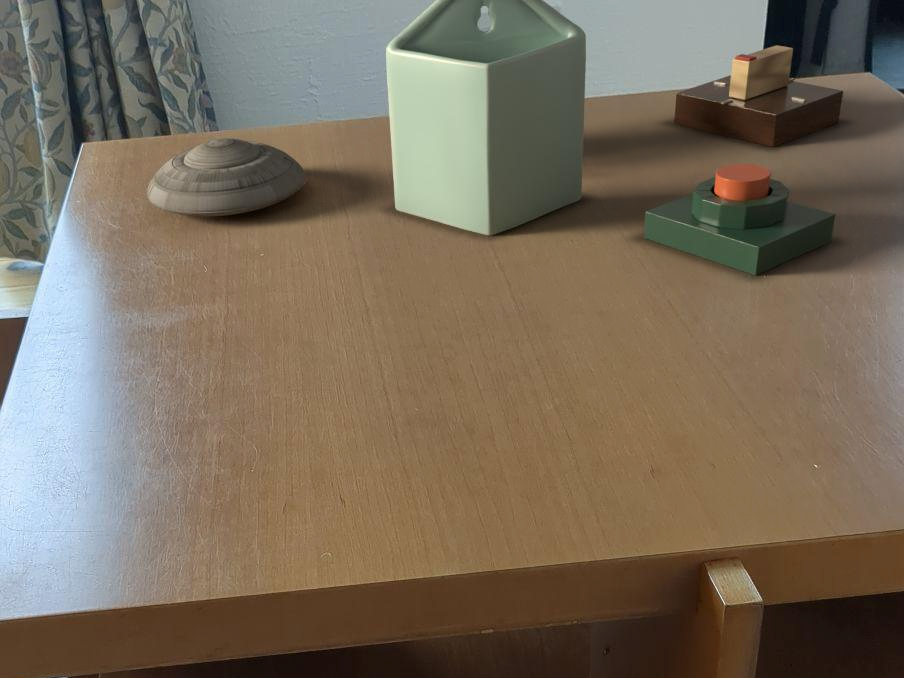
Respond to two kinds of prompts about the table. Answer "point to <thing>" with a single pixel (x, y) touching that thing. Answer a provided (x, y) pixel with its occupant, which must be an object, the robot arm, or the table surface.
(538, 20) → the planter
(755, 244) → the button block
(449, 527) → the table surface
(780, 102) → the panel
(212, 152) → the flying saucer
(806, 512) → the table surface
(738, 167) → the button
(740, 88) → the handle
